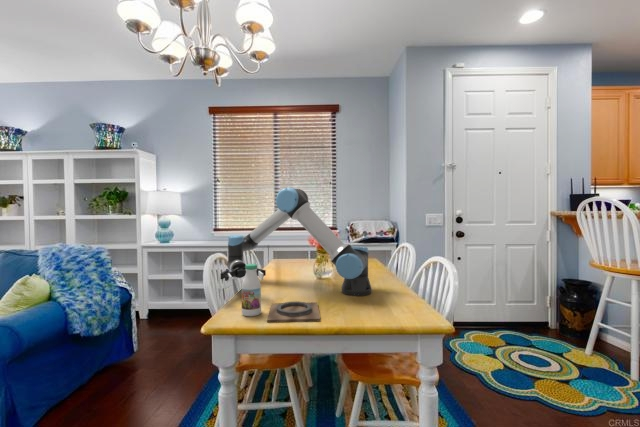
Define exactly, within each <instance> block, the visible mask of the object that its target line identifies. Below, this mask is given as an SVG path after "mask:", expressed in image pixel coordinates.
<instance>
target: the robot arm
mask: <svg viewBox="0 0 640 427" xmlns="http://www.w3.org/2000/svg"><path fill="white" fill-rule="evenodd" d="M275 205H276V207H277V210H275V211H274V212H273V213H272V214H271V215H270V216H268V217H267V218H266V219H265V220H264V221H262V222H261V223H260V224H258V226H256V227H255V228H254V229H253V230H251V232H250V233H248V234H247V235H246V236H243V235H242V234H231V235H229V236H228V239H227V252H228V253H227V254H228V255H227V263H226V264H227V265H226V266H227V268H226V269H225V270H224V271H222V272H221V273H220V280H224V281H225V282H227V281H228V282H229V284H232V282H233V281H232V279H233V277H235V278H237V279H241V278H244V277H245V274H246V269H245V265H247V264H246V263H245V262H244V252H246V251H252V250H254V249H256V248H257V247H258V245H259V244H260V243H261V242H263V241H264V240H265V239H266V238H267V237H268V236H269V235H271V234H272V233H273V232H275V231H276V230H277V229H279V227H281V226H282V225H283V224H284V223H286V222H287V221H288V220H289V219H290V218H291V220H292V221H293V220H296V221H297V222H299V224H300V225H301V226H302V227H303V229H305V230H306V231H307V232H308V234H310V235H311V237H312V238H313V239H314V240H315V241H316V242H317V243H318V244H319V246H321V247H322V248H323V249H324V251H325V252H326V253H328V255H329V256H330V262H331V263H332V264H333V265H334V266H335V270H336V272H337V273H338V275H339V276H340V277H342V278H343V281H342V285H341V293H342V294H344V295H347V296H354V297H356V296H357V297H361V296H362V297H363V296H369V295H371V294H372V291H373V290H372V285H371V282H370V278H369V249H368V247H366V246H351V245H350V244H349V243H344V242H343V241H342V240H341V238H339V237H338V235H337V234H335V232H334V231H333V230H332V229H331V228H330V227H329V226H328V225H327V224H326V223H325V222H324V221H323V220H322V219H321V217H319V215H318V214H317V213H315V211H314V210H313V209H312V208H311V203H310V201H309V197H308V194H307V193H306V191H304V190H303V189H300V188H293V187H285V188H282V189H281V190H279V192H277V195H276V198H275ZM256 272H257V276H258V278H259V280H261V281H264V277H265V276H267V274H266V272H267V270H266V269H263V268H258V267H257V270H256Z"/></svg>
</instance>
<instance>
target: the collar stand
mask: <svg viewBox="0 0 640 427" xmlns="http://www.w3.org/2000/svg"><path fill="white" fill-rule="evenodd" d="M318 304H319V303H318V302H317V301H315V302H313V301H311V302H305V301H297V300H296V301H286V302H273V303H271V304H270V308H269V311H268V314H267V317H266V318H267V319H266V323H302V322H303V323H304V322H305V323H306V322H311V323H312V322H321V316H320V311H319V305H318Z"/></svg>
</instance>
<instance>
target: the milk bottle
mask: <svg viewBox="0 0 640 427" xmlns="http://www.w3.org/2000/svg"><path fill="white" fill-rule="evenodd" d="M257 268H258V264H256V263H247V264H246V265H245V269H246V274H245V276H244V277H243V280H242V284H241V314H242V316H243V317H256V316H259V315H261V313H262V285H261V281H260V280H261V279H260V278H259V277H258V276H257V272H256V270H257Z"/></svg>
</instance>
